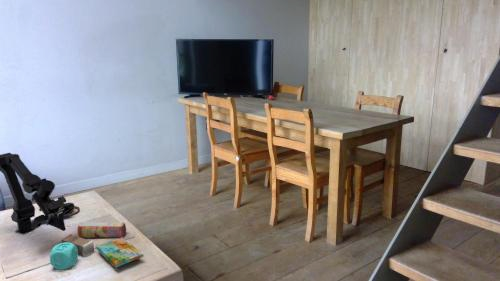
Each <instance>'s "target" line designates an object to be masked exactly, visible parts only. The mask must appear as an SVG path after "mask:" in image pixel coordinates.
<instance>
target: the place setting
mask: <svg viewBox="0 0 500 281" xmlns="http://www.w3.org/2000/svg"><path fill="white" fill-rule="evenodd" d="M69 203H70V202H65V203H64V205H66V204H69ZM72 203H73V204H74V205H75V203H74V202H72ZM64 205H63V206H64ZM63 206H60V207H61V208H60V209H59V210H61V209H62V208H63ZM74 210H77V211H75V212H73V211H74ZM80 210H81V209H80V207H79V206H77V205H75V207H74V209H73V210H72V211H71V213H69V214H67V215H69V217H72V216H74V215H77V214H78V213H79V212H80Z"/></svg>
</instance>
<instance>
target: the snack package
mask: <svg viewBox="0 0 500 281" xmlns="http://www.w3.org/2000/svg"><path fill="white" fill-rule="evenodd" d="M76 230H77V237H80V238H83V239H86V238H90V239H91V238H94V239H96V238H118V239H119V238H122V237H123V238H124V237H125V235H126V233H127V227H126V223H125V222H124V221H112V222H111V221H100V222H99V221H96V222H95V221H93V222H92V221H81V222H80V223H78V225H77V229H76Z"/></svg>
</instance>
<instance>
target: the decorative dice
mask: <svg viewBox="0 0 500 281" xmlns="http://www.w3.org/2000/svg"><path fill="white" fill-rule="evenodd" d="M50 251H51V252H50V254H49V262H50V265H51V266H52V267H53V268H54V269H56V270H61V271H62V270H67V269H71V268H72V267H74V266H75V265H76V263H77V262H78V257H79V255H78V249H77V247H76V246H75V245H74V244H72V243H69V242H65V243H62V242H61V243H57V244H56V245H54V246H53V248H52V249H51V250H50Z"/></svg>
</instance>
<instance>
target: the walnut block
mask: <svg viewBox="0 0 500 281" xmlns="http://www.w3.org/2000/svg"><path fill="white" fill-rule="evenodd" d="M65 242H69V243H72V244H74V245H75V246H76V247H77V249H78V256H80V257H83V258H87V257H88V256H90V255H91V254H93V253H95V247H94V241H92V240H91V239H86V238H80V237H78V235H77V236H76V235H73V234H70V235H67V236H66V237H63V238H62V239H61V243H65Z"/></svg>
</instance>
